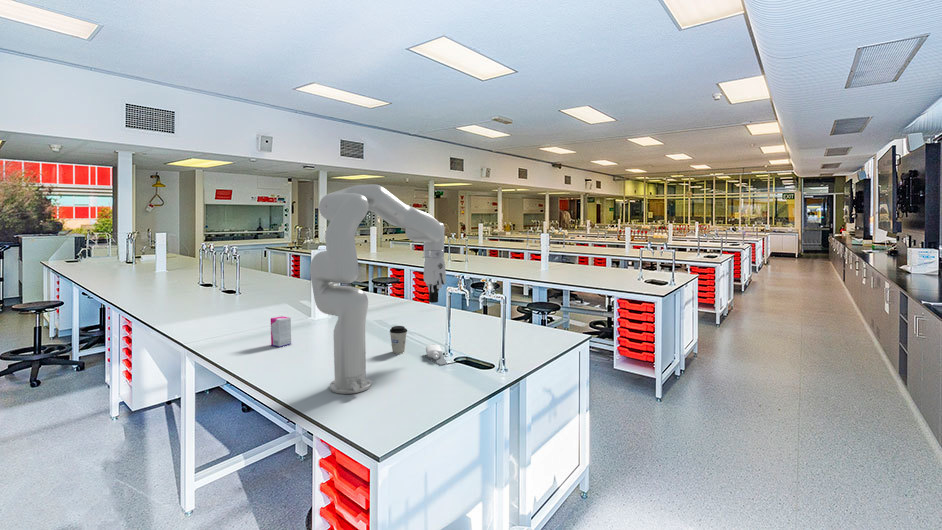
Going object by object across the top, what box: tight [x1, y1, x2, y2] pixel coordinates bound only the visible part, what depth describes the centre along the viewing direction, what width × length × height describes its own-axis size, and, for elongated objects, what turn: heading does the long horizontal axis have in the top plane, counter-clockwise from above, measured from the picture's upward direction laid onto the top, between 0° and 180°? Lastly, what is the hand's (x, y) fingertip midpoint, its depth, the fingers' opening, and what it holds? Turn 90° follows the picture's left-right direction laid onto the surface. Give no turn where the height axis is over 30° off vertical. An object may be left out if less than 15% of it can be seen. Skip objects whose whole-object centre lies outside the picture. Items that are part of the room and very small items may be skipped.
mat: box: [424, 352, 448, 366], centre depth 172 cm, size 12×10×1 cm
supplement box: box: [270, 315, 292, 349], centre depth 188 cm, size 6×6×12 cm
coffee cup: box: [389, 325, 408, 355], centre depth 180 cm, size 7×7×10 cm
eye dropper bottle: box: [425, 344, 443, 359], centre depth 173 cm, size 4×6×12 cm
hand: (433, 302), depth 176 cm, fingers closed
